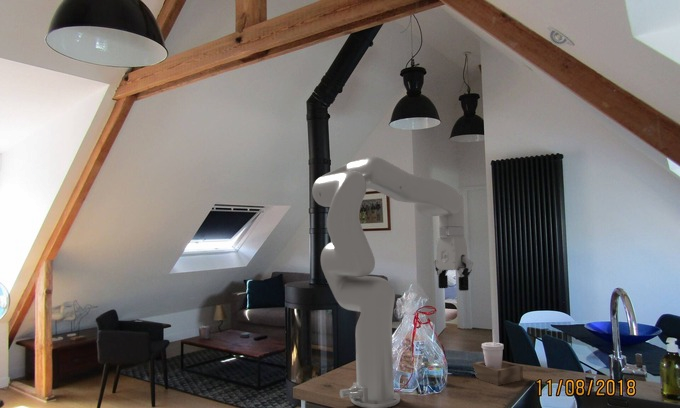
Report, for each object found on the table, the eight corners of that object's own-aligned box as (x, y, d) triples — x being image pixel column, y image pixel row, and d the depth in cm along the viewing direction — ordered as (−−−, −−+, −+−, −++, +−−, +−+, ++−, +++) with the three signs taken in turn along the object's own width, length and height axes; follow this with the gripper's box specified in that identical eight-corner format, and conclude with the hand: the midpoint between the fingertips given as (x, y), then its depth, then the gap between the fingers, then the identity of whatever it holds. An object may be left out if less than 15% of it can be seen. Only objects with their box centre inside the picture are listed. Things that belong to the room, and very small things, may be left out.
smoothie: (508, 380, 136) (506, 331, 137) (486, 381, 136) (484, 331, 137) (501, 374, 142) (499, 327, 143) (480, 374, 142) (477, 327, 143)
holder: (498, 385, 131) (497, 370, 132) (472, 376, 140) (472, 363, 141) (523, 380, 136) (522, 366, 136) (497, 372, 145) (496, 358, 145)
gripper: (425, 234, 152) (426, 287, 150) (460, 232, 136) (462, 291, 134) (444, 234, 155) (445, 287, 153) (480, 232, 139) (482, 291, 138)
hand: (453, 289), depth 144 cm, fingers open, 9 cm apart
